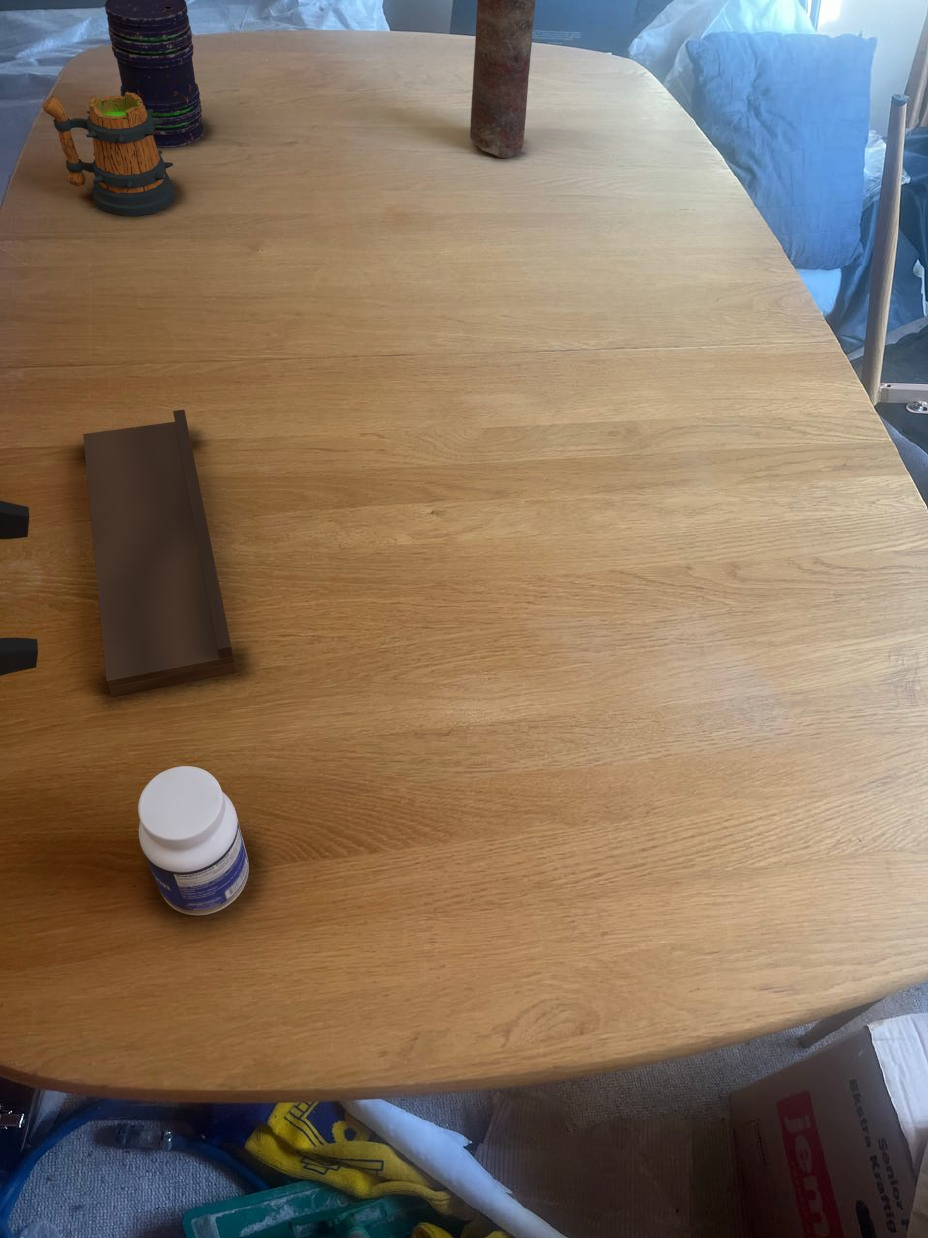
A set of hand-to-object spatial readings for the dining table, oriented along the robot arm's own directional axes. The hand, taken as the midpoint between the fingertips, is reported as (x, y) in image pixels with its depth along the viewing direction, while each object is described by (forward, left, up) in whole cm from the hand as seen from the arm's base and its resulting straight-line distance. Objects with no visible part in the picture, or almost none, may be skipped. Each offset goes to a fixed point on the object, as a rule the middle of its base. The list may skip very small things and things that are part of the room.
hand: (32, 585), depth 49 cm
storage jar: (+26, +97, -21) cm, 102 cm away
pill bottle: (+4, -8, -21) cm, 23 cm away
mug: (+17, +81, -21) cm, 85 cm away
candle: (+67, +81, -21) cm, 107 cm away
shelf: (+7, +21, -21) cm, 31 cm away
